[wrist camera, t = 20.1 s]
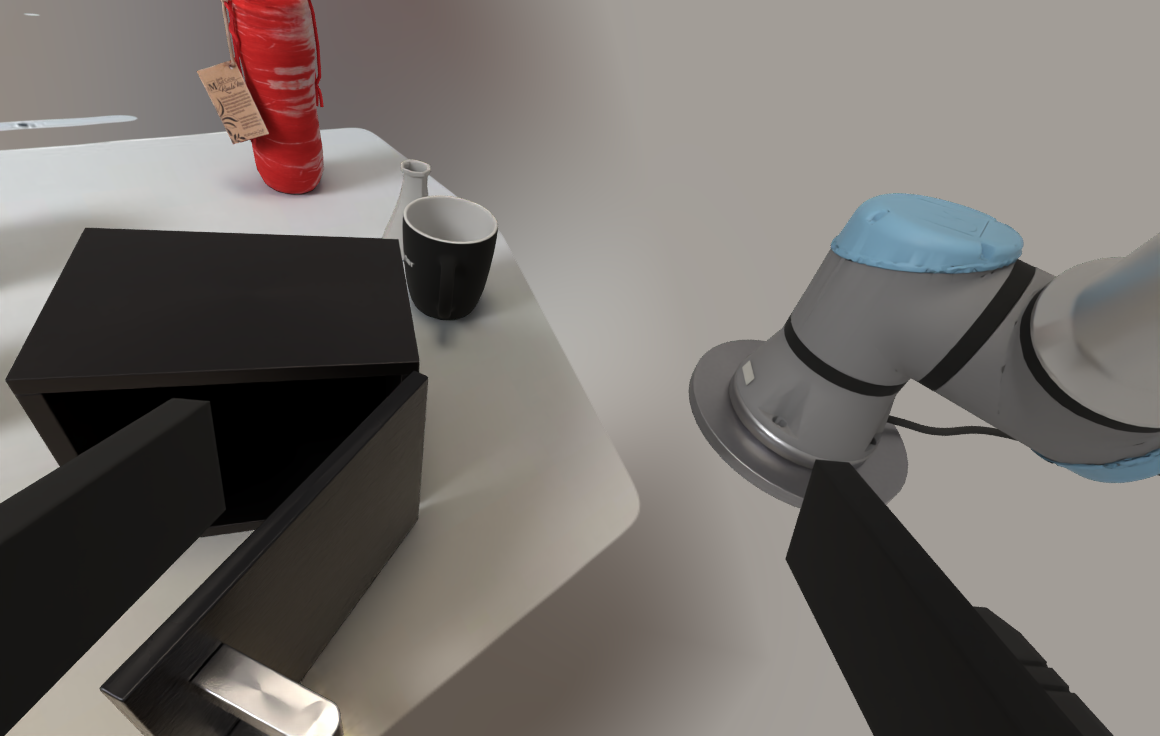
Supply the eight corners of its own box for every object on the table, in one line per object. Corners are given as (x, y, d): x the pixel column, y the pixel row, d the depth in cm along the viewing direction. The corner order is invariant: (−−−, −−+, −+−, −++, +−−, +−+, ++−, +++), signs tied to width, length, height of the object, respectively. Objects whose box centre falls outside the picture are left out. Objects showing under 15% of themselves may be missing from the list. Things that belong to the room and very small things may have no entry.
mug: (404, 273, 62) (407, 189, 56) (485, 282, 65) (497, 202, 58) (393, 344, 54) (394, 254, 47) (487, 352, 56) (500, 267, 49)
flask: (371, 254, 63) (370, 170, 57) (391, 224, 69) (392, 145, 62) (435, 269, 64) (441, 188, 58) (450, 238, 70) (456, 161, 63)
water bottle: (241, 209, 64) (191, -57, 48) (214, 177, 67) (159, -81, 51) (343, 194, 71) (330, -41, 55) (314, 166, 75) (294, -62, 59)
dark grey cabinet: (411, 508, 42) (419, 361, 32) (111, 550, 35) (4, 380, 25) (396, 384, 50) (398, 238, 40) (152, 398, 43) (84, 227, 33)
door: (489, 553, 40) (521, 418, 31) (315, 859, 27) (276, 790, 17) (406, 512, 41) (413, 369, 31) (197, 790, 28) (96, 688, 18)
